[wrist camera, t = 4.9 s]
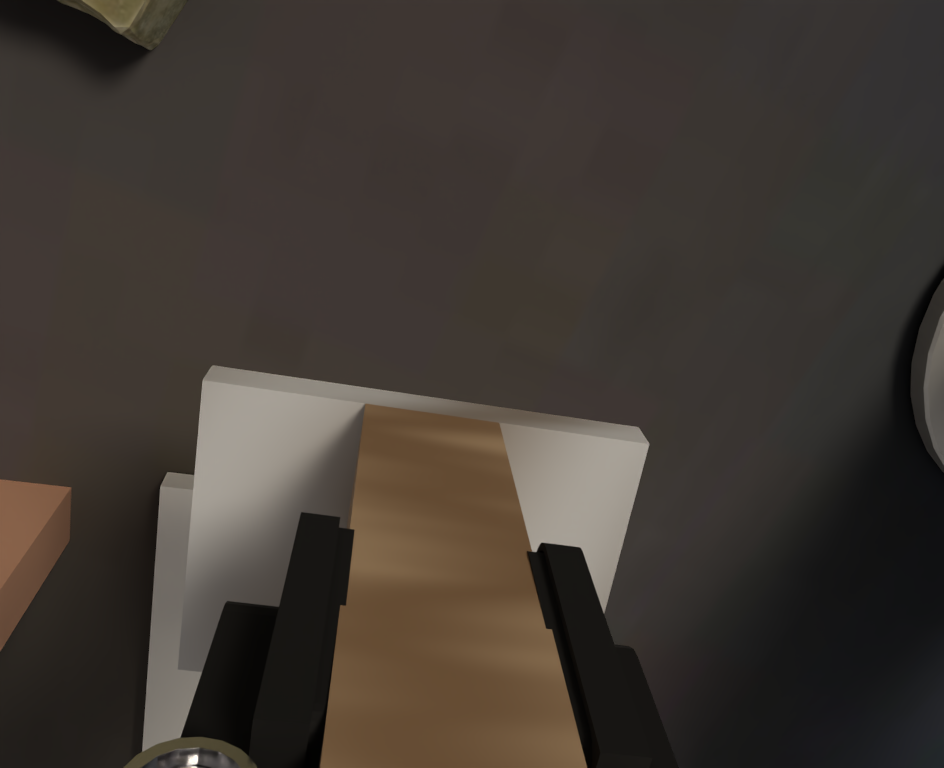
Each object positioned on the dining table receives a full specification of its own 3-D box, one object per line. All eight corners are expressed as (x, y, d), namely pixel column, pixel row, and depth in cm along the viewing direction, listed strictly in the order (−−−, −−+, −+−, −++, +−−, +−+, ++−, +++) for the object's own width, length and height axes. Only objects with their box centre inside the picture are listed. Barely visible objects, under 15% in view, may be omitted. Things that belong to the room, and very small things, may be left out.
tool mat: (522, 513, 31) (527, 528, 30) (453, 818, 36) (455, 839, 35) (167, 472, 29) (160, 486, 28) (144, 798, 34) (137, 820, 33)
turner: (638, 427, 17) (1070, 1105, 6) (571, 685, 19) (801, 1559, 8) (212, 365, 16) (-225, 1041, 5) (187, 644, 18) (-168, 1577, 7)
